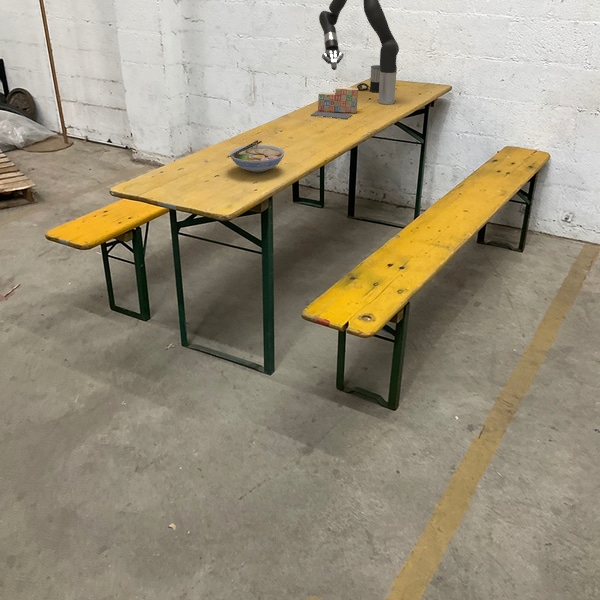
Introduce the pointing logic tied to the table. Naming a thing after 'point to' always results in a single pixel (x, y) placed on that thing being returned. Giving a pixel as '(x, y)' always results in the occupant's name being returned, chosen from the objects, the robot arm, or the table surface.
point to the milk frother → (372, 80)
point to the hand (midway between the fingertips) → (334, 69)
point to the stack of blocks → (339, 100)
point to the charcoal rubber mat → (331, 115)
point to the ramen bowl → (257, 156)
